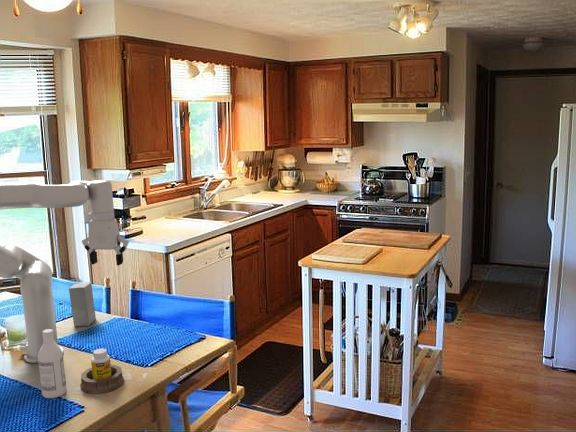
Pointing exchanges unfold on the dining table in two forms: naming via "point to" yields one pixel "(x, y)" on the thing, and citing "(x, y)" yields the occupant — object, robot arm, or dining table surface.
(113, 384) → the round brown bowl
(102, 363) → the supplement bottle
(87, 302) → the skincare box
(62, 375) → the bath foam
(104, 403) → the dining table surface
